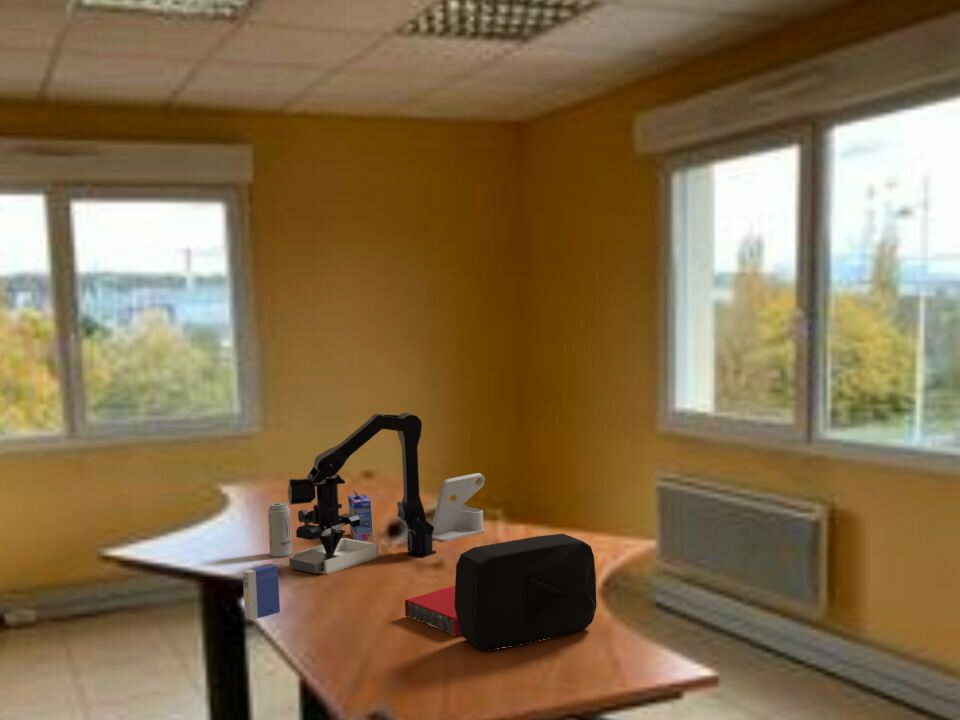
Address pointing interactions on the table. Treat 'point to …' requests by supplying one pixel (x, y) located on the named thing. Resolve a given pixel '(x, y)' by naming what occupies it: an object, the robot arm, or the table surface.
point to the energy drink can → (279, 529)
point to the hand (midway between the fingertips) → (330, 557)
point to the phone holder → (457, 509)
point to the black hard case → (525, 590)
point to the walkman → (261, 591)
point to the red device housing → (435, 610)
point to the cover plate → (310, 561)
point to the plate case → (346, 554)
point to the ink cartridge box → (361, 517)
